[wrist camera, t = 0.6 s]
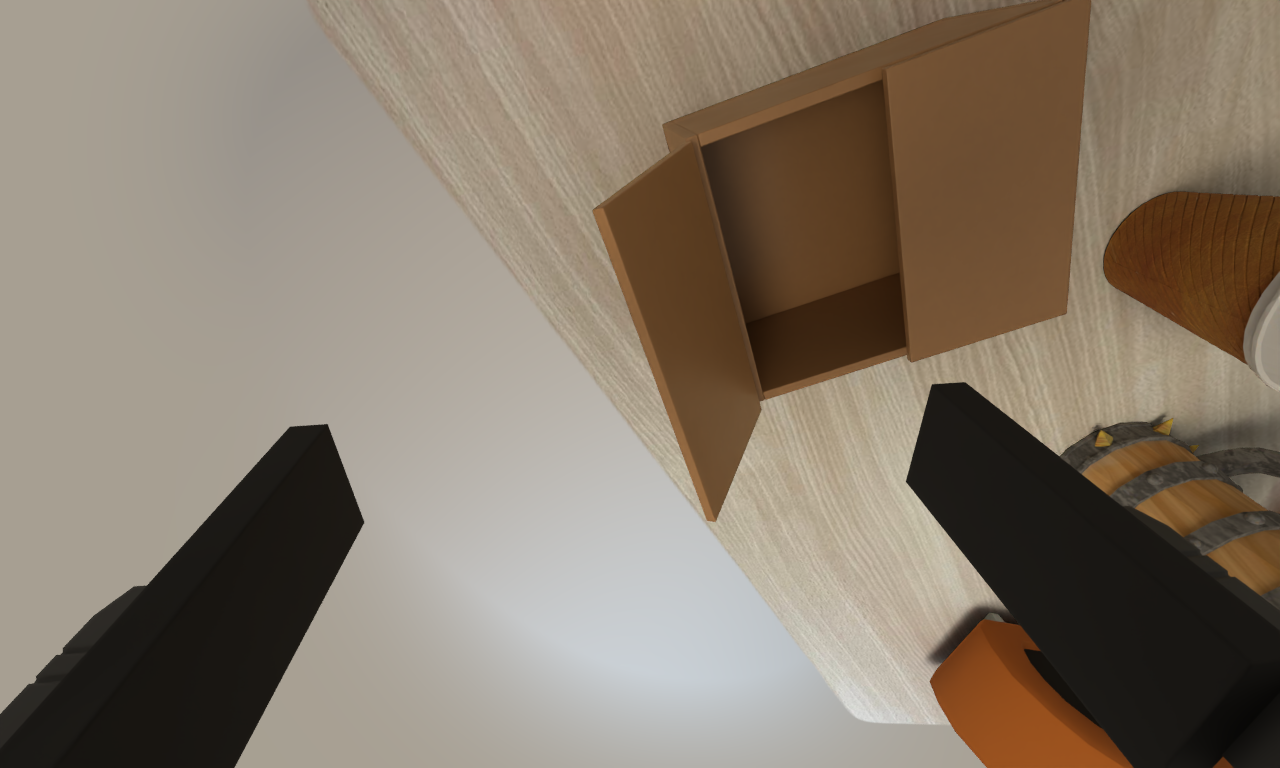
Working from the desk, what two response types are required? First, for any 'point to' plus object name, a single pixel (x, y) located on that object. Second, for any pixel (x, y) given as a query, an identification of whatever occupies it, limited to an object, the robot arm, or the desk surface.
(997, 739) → the alarm clock
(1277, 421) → the desk surface
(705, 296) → the flap
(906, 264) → the carton
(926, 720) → the desk surface
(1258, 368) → the disposable coffee cup
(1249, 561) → the mug
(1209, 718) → the robot arm
